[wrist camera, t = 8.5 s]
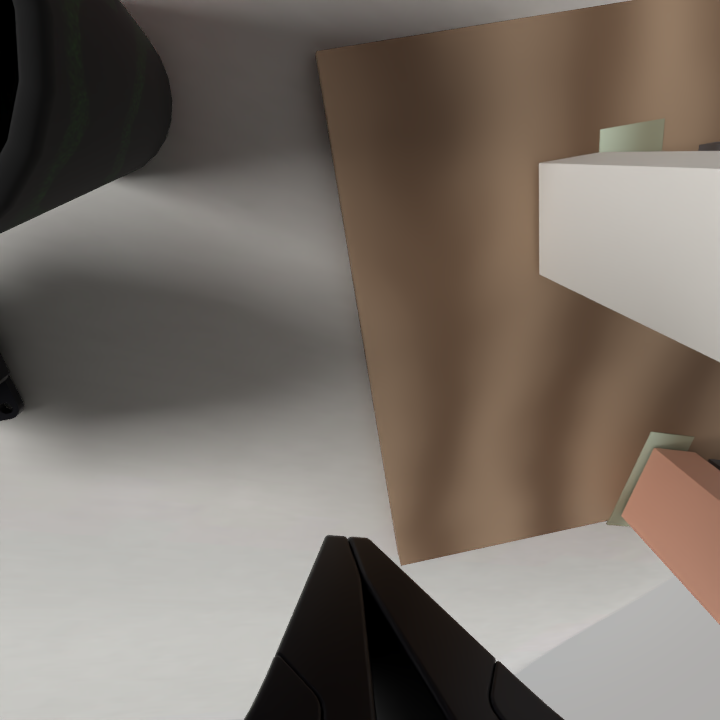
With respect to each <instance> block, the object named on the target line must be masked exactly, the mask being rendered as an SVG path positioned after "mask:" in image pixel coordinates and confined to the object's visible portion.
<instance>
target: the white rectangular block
mask: <svg viewBox="0 0 720 720" xmlns="http://www.w3.org/2000/svg"><path fill="white" fill-rule="evenodd" d="M539 274H540V275H542V276H544V277H546V278H548V279H550V280H552V281H554V282H556V283H558V284H560V285H562V286H564V287H566V288H568V289H570V290H573V291H575V292H577V293H579V294H581V295H583V296H585V297H587V298H589V299H591V300H593V301H595V302H597V303H599V304H601V305H603V306H605V307H607V308H610V309H612V310H614V311H616V312H618V313H620V314H622V315H624V316H626V317H628V318H630V319H632V320H634V321H636V322H638V323H640V324H642V325H644V326H646V327H649V328H651V329H653V330H655V331H657V332H659V333H661V334H663V335H665V336H667V337H669V338H671V339H673V340H675V341H677V342H679V343H681V344H683V345H686V346H688V347H690V348H692V349H694V350H696V351H698V352H700V353H702V354H704V355H706V356H708V357H710V358H712V359H714V360H716V361H718V362H720V151H656V152H598V153H593V154H587V155H581V156H576V157H570V158H564V159H559V160H553V161H548V162H542V163H539Z"/></svg>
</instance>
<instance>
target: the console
mask: <svg viewBox="0 0 720 720" xmlns="http://www.w3.org/2000/svg"><path fill="white" fill-rule="evenodd" d="M316 62H317V68H318V74H319V80H320V86H321V92H322V98H323V104H324V110H325V116H326V122H327V128H328V134H329V140H330V146H331V152H332V158H333V164H334V170H335V176H336V182H337V188H338V194H339V200H340V206H341V212H342V218H343V224H344V230H345V236H346V242H347V248H348V254H349V260H350V266H351V273H352V279H353V285H354V291H355V297H356V303H357V309H358V315H359V321H360V327H361V333H362V339H363V345H364V351H365V357H366V363H367V369H368V375H369V381H370V387H371V393H372V399H373V405H374V411H375V417H376V423H377V429H378V435H379V441H380V447H381V453H382V459H383V465H384V471H385V477H386V484H387V490H388V496H389V502H390V508H391V514H392V520H393V526H394V532H395V538H396V544H397V550H398V555H399V559H400V563H401V566H402V565H406V564H411V563H415V562H420V561H425V560H429V559H434V558H438V557H443V556H447V555H452V554H457V553H461V552H466V551H470V550H475V549H479V548H484V547H489V546H493V545H498V544H502V543H507V542H511V541H516V540H521V539H525V538H530V537H534V536H539V535H543V534H548V533H553V532H557V531H562V530H566V529H571V528H575V527H580V526H585V525H589V524H594V523H598V522H603V521H607V520H608V521H607V523H606V524H607V525H616V526H630V525H629V524H628V523H627V522H626V521H625V520H624V518H623V517H622V516H621V515H622V513H623V511H624V509H625V507H626V504H627V502H628V500H629V498H630V496H631V494H632V492H633V490H634V488H635V486H636V484H637V482H638V480H639V478H640V476H641V474H642V472H643V469H644V467H645V465H646V463H647V461H648V459H649V457H650V455H651V453H652V451H653V449H654V448H661V449H670V450H679V451H688V452H695V453H697V454H698V455H699V456H701V457H702V458H703V459H705V460H706V461H707V462H709V463H710V464H712V465H713V466H714V467H716V468H717V469H718V470H720V362H718V361H716V360H714V359H712V358H710V357H708V356H706V355H704V354H702V353H700V352H698V351H696V350H694V349H692V348H690V347H688V346H686V345H683V344H681V343H679V342H677V341H675V340H673V339H671V338H669V337H667V336H665V335H663V334H661V333H659V332H657V331H655V330H653V329H651V328H649V327H646V326H644V325H642V324H640V323H638V322H636V321H634V320H632V319H630V318H628V317H626V316H624V315H622V314H620V313H618V312H616V311H614V310H612V309H610V308H607V307H605V306H603V305H601V304H599V303H597V302H595V301H593V300H591V299H589V298H587V297H585V296H583V295H581V294H579V293H577V292H575V291H573V290H570V289H568V288H566V287H564V286H562V285H560V284H558V283H556V282H554V281H552V280H550V279H548V278H546V277H544V276H542V275H540V274H539V163H542V162H548V161H553V160H559V159H564V158H570V157H576V156H581V155H587V154H593V153H598V152H656V151H720V0H632V1H626V2H619V3H613V4H607V5H601V6H595V7H588V8H582V9H576V10H570V11H563V12H557V13H551V14H545V15H538V16H532V17H526V18H520V19H514V20H507V21H501V22H495V23H489V24H482V25H476V26H470V27H464V28H457V29H451V30H445V31H439V32H433V33H426V34H420V35H414V36H408V37H401V38H395V39H389V40H383V41H376V42H370V43H364V44H358V45H352V46H345V47H339V48H333V49H327V50H320V51H316ZM630 527H631V526H630Z"/></svg>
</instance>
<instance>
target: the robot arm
mask: <svg viewBox="0 0 720 720" xmlns="http://www.w3.org/2000/svg"><path fill="white" fill-rule="evenodd" d="M9 373H10V372H9V369H8V367H7V365H6V363H5V361H4V359H3V357H2V356H1V354H0V421H2V420H7V419H12V418H14V417H16V416H17V415H18V414H19V413H20V412H21V411H22V410H23V408H24V404H23V401H22V399H21V397H20V395H19V393H18V391H17V389H16V387H15V385H14V383H13V381H12V379H11V377H10V375H9ZM4 403H7V404H9V405H11V407H12V409H9V408H7V407H6V406H5V404H4ZM495 662H496V660H495V658H494V657H493V656H492V655H491V654H490V653H489V652H488V651H487V650H486V649H485V648H484V647H483V646H482V645H481V644H479V643H478V642H477V641H476V640H475V639H474V638H473V637H472V636H471V635H470V634H469V633H468V632H467V631H466V630H465V629H464V628H463V627H462V626H460V625H459V624H458V623H457V622H456V621H455V620H454V619H453V618H452V617H451V616H450V615H449V614H448V613H447V612H446V611H445V610H444V609H443V608H441V607H440V606H439V605H438V604H437V603H436V602H435V601H434V600H433V599H432V598H431V597H430V596H429V595H428V594H427V593H426V592H425V591H423V590H422V589H421V588H420V587H419V586H418V585H417V584H416V583H415V582H414V581H413V580H412V579H411V578H410V577H409V576H408V575H407V574H406V573H404V572H403V571H402V570H401V569H400V568H399V567H398V566H397V565H396V564H395V563H394V562H393V561H392V560H391V559H390V558H389V557H388V556H387V555H385V554H384V553H383V552H382V551H381V550H380V549H379V548H378V547H377V546H376V545H375V544H374V543H373V542H372V541H371V540H369V539H368V538H361V537H349V538H348V539H347V538H346V537H344V536H333V535H328V536H326V537H325V539H324V541H323V544H322V546H321V548H320V551H319V553H318V556H317V558H316V560H315V563H314V565H313V567H312V570H311V572H310V574H309V577H308V579H307V581H306V584H305V586H304V589H303V591H302V593H301V596H300V598H299V600H298V603H297V605H296V607H295V610H294V612H293V615H292V617H291V619H290V622H289V624H288V626H287V629H286V631H285V633H284V636H283V638H282V640H281V643H280V645H279V648H278V650H277V652H276V655H275V657H274V658H273V661H272V663H271V665H270V668H269V670H268V672H267V675H266V677H265V679H264V681H263V683H262V686H261V688H260V690H259V692H258V694H257V696H256V698H255V700H254V702H253V704H252V706H251V708H250V710H249V712H248V713H247V715H246V717H245V719H244V720H564V719H563V718H562V717H560V716H559V715H558V714H557V713H556V712H554V711H553V710H552V709H551V708H550V707H549V706H547V705H546V704H545V703H544V702H543V701H542V700H541V699H540V698H539V697H537V696H536V695H535V694H534V693H533V692H532V691H531V690H530V689H529V688H527V687H526V686H525V685H524V684H523V683H522V682H521V681H520V680H519V679H518V678H517V677H515V676H514V675H513V674H512V673H511V672H510V671H509V670H508V669H507V668H506V667H505V666H504V665H503V664H502V663H501V662H499V661H497V662H496V663H495Z"/></svg>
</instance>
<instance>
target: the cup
mask: <svg viewBox="0 0 720 720" xmlns="http://www.w3.org/2000/svg"><path fill="white" fill-rule="evenodd" d="M171 112H172V97H171V91H170V86H169V80H168V77H167V74H166V72H165V69H164V67H163V64H162V62H161V59H160V57H159V55H158V54H157V52H156V51H155V49H154V48H153V46H152V44H151V43H150V41H149V40H148V38H147V37H146V35H145V34H144V33H143V31H142V30H141V29H140V27H139V26H138V25H137V24H136V22H135V21H134V20H133V18H132V17H131V16H130V14H129V13H128V12H127V10H126V9H125V8H124V6H123V5H122V4H121V2H120V1H119V0H0V233H2V232H4V231H7V230H9V229H11V228H13V227H15V226H17V225H19V224H22V223H24V222H26V221H28V220H30V219H32V218H34V217H37V216H39V215H41V214H43V213H45V212H47V211H49V210H52V209H54V208H56V207H58V206H60V205H62V204H64V203H67V202H69V201H71V200H73V199H75V198H77V197H79V196H81V195H84V194H86V193H88V192H90V191H92V190H94V189H96V188H99V187H101V186H103V185H105V184H107V183H109V182H111V181H114V180H116V179H118V178H120V177H122V176H124V175H126V174H129V173H131V172H133V171H135V170H137V169H139V168H141V167H143V166H144V165H145V164H146V163H147V162H148V161H150V160H151V159H152V158H153V157H154V156H155V155H156V154H157V152H158V151H159V149H160V147H161V146H162V144H163V142H164V141H165V139H166V136H167V133H168V129H169V126H170V123H171Z"/></svg>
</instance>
